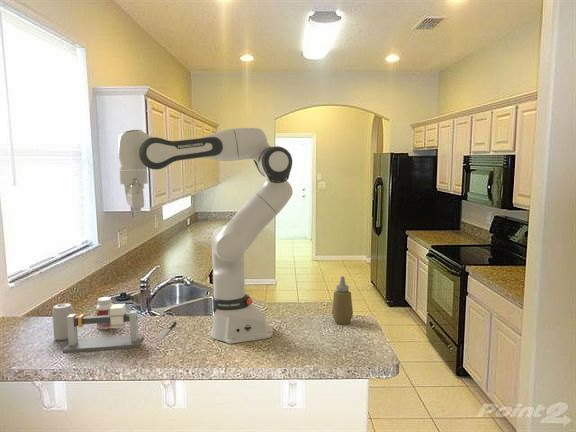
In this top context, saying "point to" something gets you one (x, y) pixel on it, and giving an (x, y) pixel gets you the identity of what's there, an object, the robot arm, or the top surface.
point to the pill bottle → (104, 311)
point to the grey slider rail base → (101, 342)
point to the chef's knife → (165, 332)
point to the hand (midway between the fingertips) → (136, 219)
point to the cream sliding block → (117, 315)
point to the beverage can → (61, 320)
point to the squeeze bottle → (342, 303)
